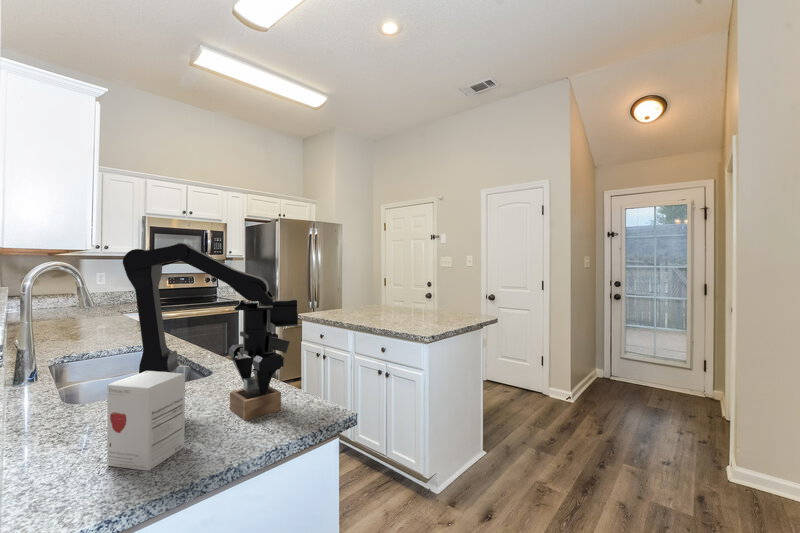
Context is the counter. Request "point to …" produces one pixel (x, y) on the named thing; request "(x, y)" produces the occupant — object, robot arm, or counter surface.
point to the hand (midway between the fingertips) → (255, 390)
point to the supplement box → (145, 419)
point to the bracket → (251, 388)
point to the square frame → (255, 404)
